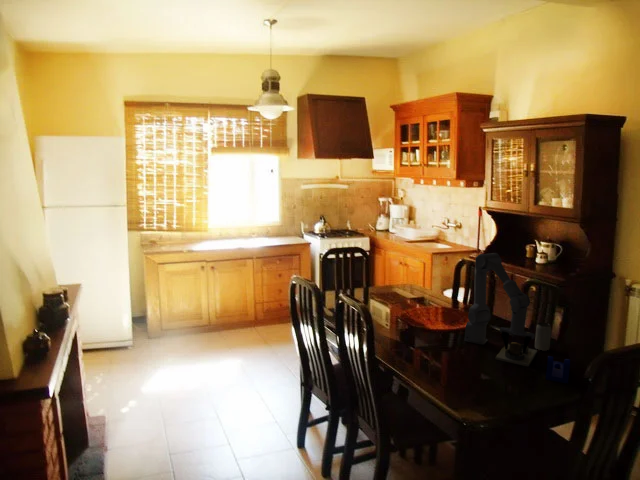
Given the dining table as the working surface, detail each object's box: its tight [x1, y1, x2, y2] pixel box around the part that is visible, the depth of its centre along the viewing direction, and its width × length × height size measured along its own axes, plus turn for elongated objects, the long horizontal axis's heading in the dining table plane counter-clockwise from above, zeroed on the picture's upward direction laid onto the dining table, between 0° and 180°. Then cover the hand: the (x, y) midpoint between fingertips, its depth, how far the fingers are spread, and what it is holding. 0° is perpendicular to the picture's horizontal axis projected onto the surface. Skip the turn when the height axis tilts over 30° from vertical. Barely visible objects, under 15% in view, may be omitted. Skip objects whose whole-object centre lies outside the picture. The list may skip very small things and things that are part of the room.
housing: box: [495, 343, 538, 367], centre depth 241 cm, size 14×20×3 cm
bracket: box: [545, 355, 571, 385], centre depth 223 cm, size 18×8×9 cm, turn 155°
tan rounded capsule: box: [509, 341, 522, 355], centre depth 237 cm, size 4×4×6 cm
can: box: [534, 321, 552, 352], centre depth 250 cm, size 6×6×12 cm
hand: (515, 350), depth 237 cm, fingers open, 7 cm apart
